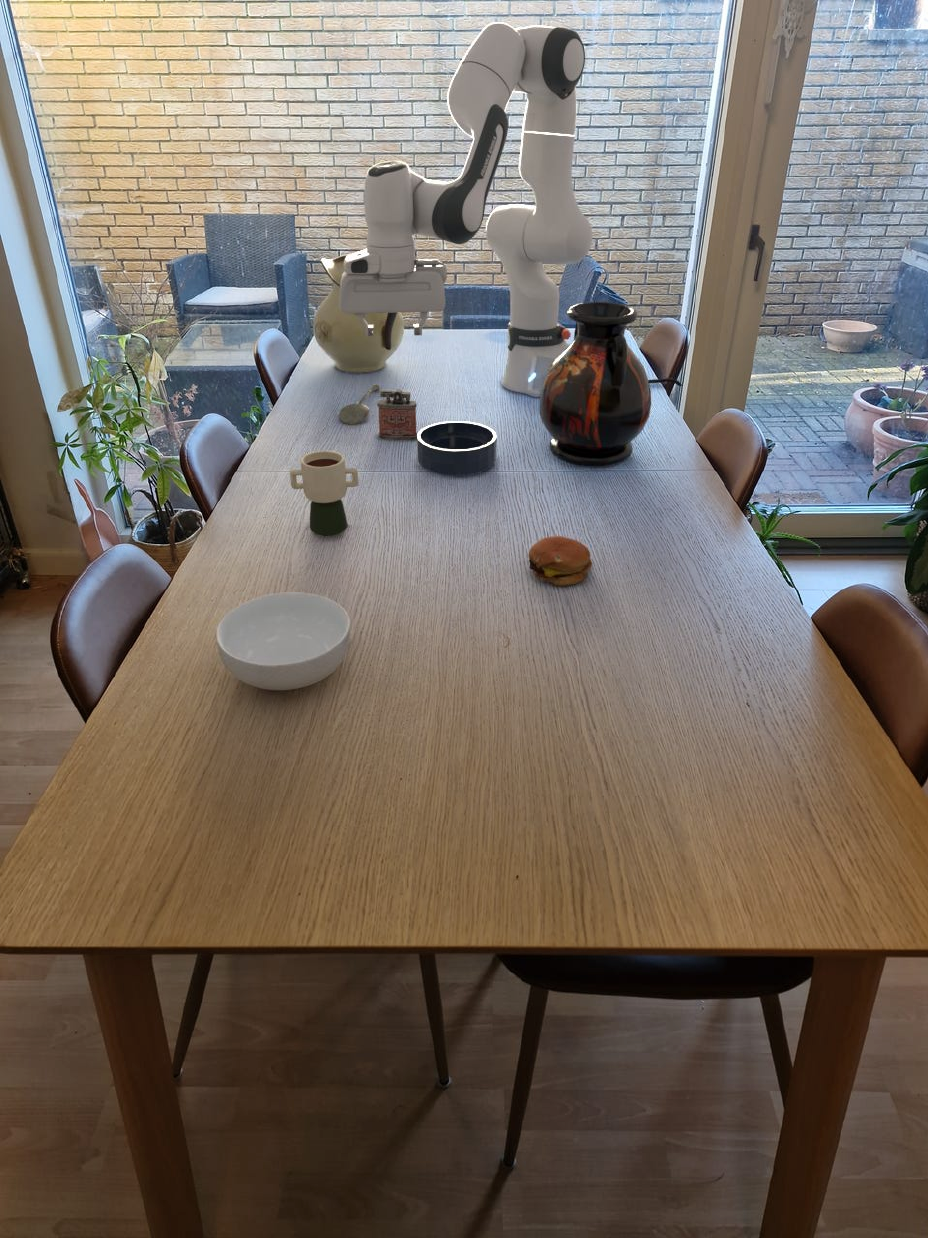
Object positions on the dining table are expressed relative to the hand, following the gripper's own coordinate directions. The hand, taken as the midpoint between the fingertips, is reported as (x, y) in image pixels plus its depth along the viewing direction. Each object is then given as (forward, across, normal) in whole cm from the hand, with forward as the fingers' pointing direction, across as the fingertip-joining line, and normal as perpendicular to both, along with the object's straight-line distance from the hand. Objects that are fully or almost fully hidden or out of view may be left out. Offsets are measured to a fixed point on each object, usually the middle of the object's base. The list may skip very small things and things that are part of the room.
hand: (393, 335), depth 172 cm
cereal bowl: (+21, +17, +80) cm, 84 cm away
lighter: (+21, 0, 0) cm, 21 cm away
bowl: (+21, -11, +14) cm, 28 cm away
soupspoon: (+21, +7, -19) cm, 29 cm away
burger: (+21, -23, +58) cm, 66 cm away
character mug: (+21, +13, +41) cm, 48 cm away
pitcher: (+21, +7, -49) cm, 54 cm away
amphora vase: (+21, -38, +12) cm, 45 cm away
